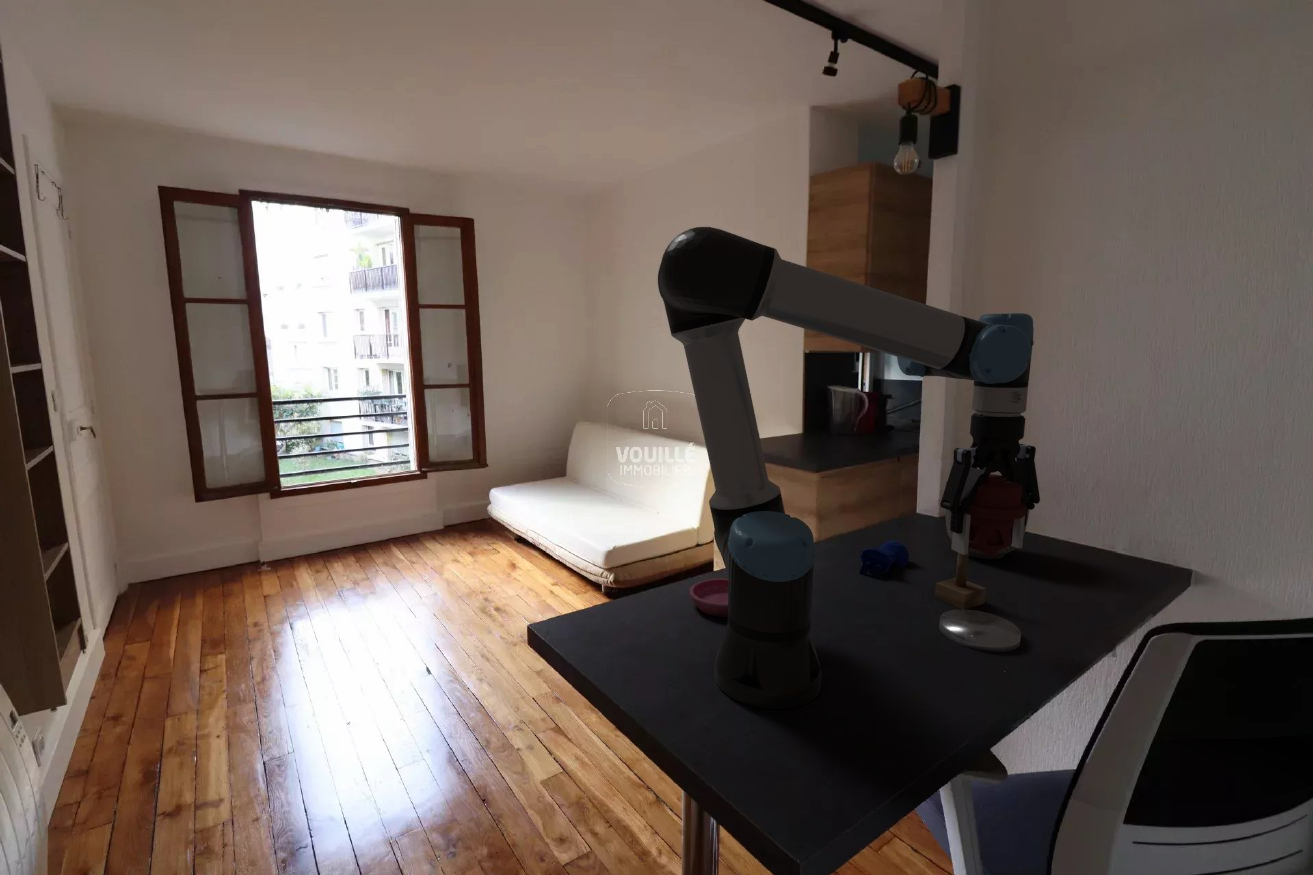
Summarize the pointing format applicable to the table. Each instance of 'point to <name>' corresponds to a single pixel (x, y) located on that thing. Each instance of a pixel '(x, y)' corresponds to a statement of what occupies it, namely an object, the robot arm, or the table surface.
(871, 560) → the toy
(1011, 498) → the mechanical component
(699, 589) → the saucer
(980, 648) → the grey round disc
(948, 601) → the brown wooden peg block
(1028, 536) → the table surface
